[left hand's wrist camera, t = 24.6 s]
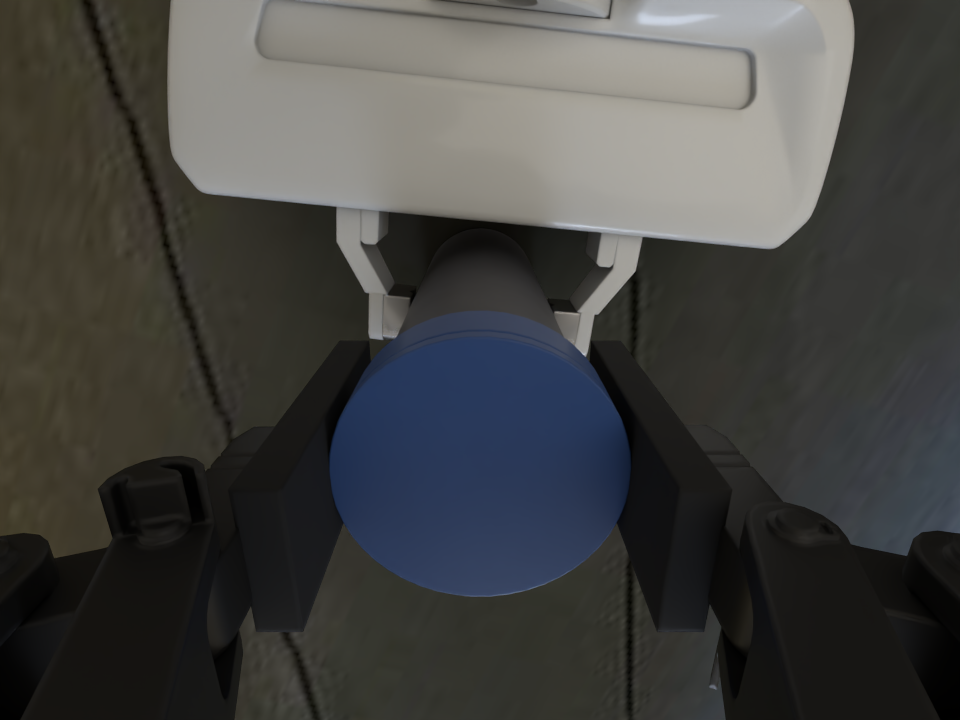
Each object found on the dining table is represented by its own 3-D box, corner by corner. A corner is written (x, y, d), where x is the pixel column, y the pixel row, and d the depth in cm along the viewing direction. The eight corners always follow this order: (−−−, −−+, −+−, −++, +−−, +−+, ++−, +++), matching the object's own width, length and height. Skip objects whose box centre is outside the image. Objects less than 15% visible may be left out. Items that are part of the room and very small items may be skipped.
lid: (569, 270, 10) (587, 291, 9) (638, 502, 12) (661, 554, 11) (303, 360, 11) (274, 395, 10) (408, 567, 13) (398, 625, 11)
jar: (520, 216, 25) (580, 308, 10) (542, 318, 27) (619, 524, 12) (414, 242, 25) (323, 367, 10) (443, 342, 27) (398, 568, 12)
